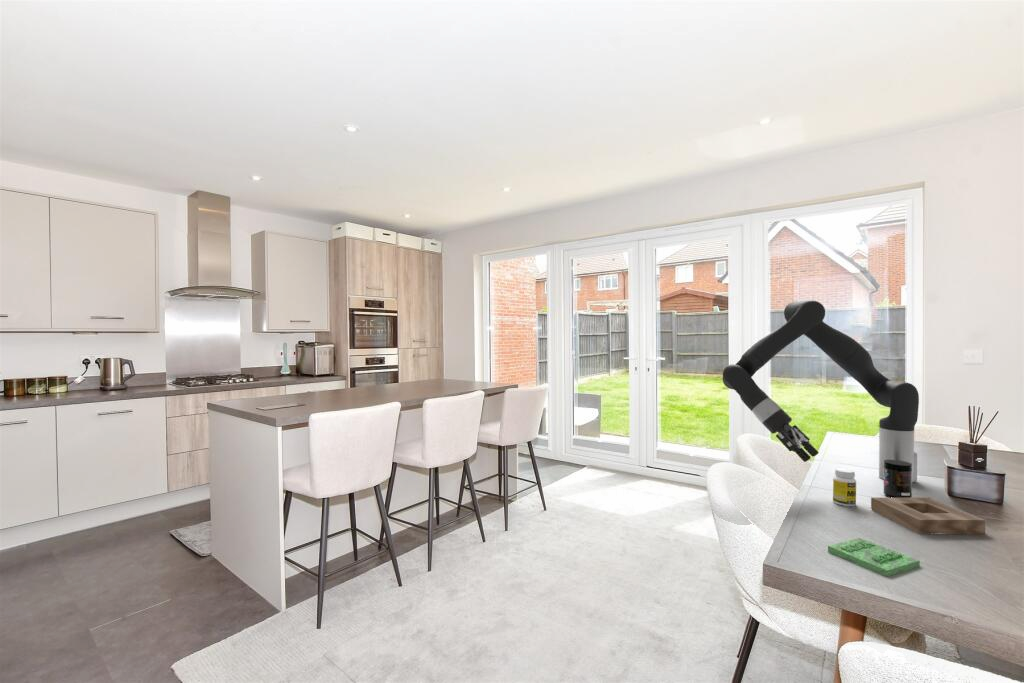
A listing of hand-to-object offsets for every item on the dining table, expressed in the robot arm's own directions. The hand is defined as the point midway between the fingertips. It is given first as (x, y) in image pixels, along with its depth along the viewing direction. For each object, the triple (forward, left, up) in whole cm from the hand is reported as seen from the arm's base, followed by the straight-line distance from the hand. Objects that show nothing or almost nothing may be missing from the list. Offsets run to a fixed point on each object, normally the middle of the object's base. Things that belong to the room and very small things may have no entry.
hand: (812, 457), depth 143 cm
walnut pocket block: (-18, +19, -12) cm, 28 cm away
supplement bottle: (-6, +6, -12) cm, 15 cm away
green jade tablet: (+11, +40, -13) cm, 43 cm away
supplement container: (-26, 0, -12) cm, 28 cm away
